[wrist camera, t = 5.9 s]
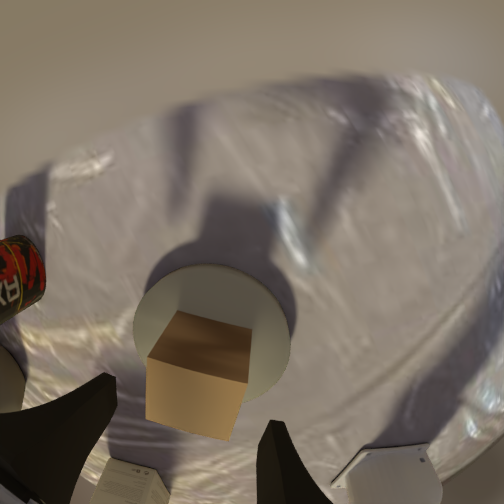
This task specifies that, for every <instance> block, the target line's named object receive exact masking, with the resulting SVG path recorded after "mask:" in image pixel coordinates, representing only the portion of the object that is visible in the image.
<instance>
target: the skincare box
mask: <svg viewBox="0 0 504 504" xmlns="http://www.w3.org/2000/svg"><path fill="white" fill-rule="evenodd" d="M169 499H170V494H169V492H168V491H167V489H166V487H165V485H164V484H163V482H162V480H161V478H160V476H159V475H158V473H157V471H156V470H155V469H151V468H147V467H143V466H139V465H135V464H132V463H128V462H124V461H120V460H117V459H113V458H109V460H108V462H107V464H106V466H105V468H104V471H103V473H102V475H101V477H100V479H99V482H98V484H97V486H96V489H95V491H94V493H93V495H92V498H91V500H90V502H89V504H168V503H169Z"/></svg>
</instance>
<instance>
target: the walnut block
mask: <svg viewBox="0 0 504 504" xmlns="http://www.w3.org/2000/svg"><path fill="white" fill-rule="evenodd" d="M251 339H252V329H249V328H245V327H240V326H236V325H232V324H228V323H224V322H220V321H216V320H212V319H208V318H204V317H200V316H197V315H193V314H189V313H186V312H182V311H179V310H177V311H176V313H175V314H174V316H173V317H172V319H171V320H170V322H169V324H168V325H167V327H166V328H165V330H164V331H163V333H162V334H161V336H160V337H159V339H158V340H157V342H156V344H155V345H154V347H153V348H152V350H151V351H150V353H149V355H148V356H147V368H146V419H147V420H150V421H153V422H156V423H159V424H162V425H166V426H169V427H172V428H176V429H179V430H183V431H186V432H190V433H194V434H198V435H202V436H206V437H211V438H215V439H220V440H225V441H229V438H230V435H231V433H232V430H233V427H234V424H235V421H236V418H237V415H238V412H239V409H240V406H241V403H242V400H243V397H244V394H245V391H246V388H247V385H248V377H249V365H250V352H251Z"/></svg>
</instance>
